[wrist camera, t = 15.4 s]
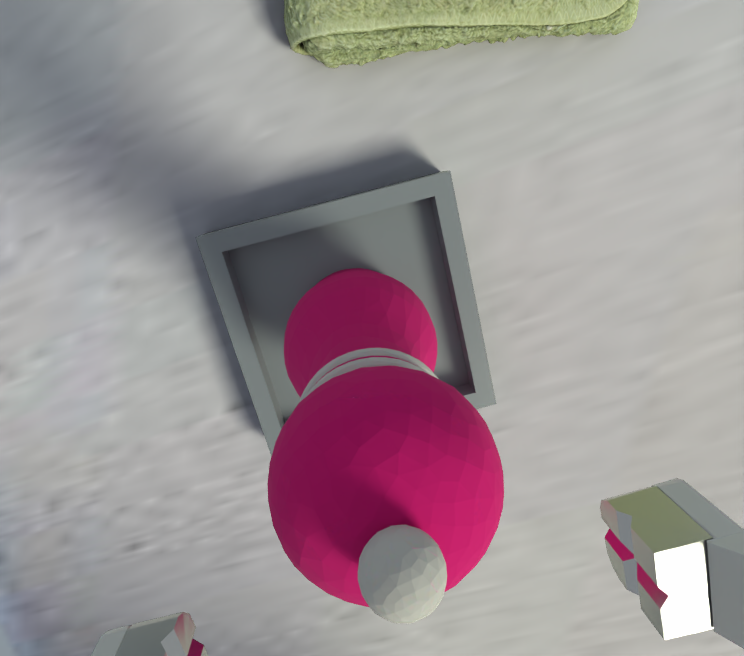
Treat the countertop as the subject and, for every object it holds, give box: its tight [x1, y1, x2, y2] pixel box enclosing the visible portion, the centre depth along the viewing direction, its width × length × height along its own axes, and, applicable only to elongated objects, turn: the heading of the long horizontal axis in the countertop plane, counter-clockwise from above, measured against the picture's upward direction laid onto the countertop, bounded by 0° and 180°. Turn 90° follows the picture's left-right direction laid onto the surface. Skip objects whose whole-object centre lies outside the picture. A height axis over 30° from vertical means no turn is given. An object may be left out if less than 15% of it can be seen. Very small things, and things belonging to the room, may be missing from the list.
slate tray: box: [196, 171, 496, 456], centre depth 28 cm, size 13×13×2 cm
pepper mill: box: [268, 268, 504, 624], centre depth 19 cm, size 7×7×20 cm
